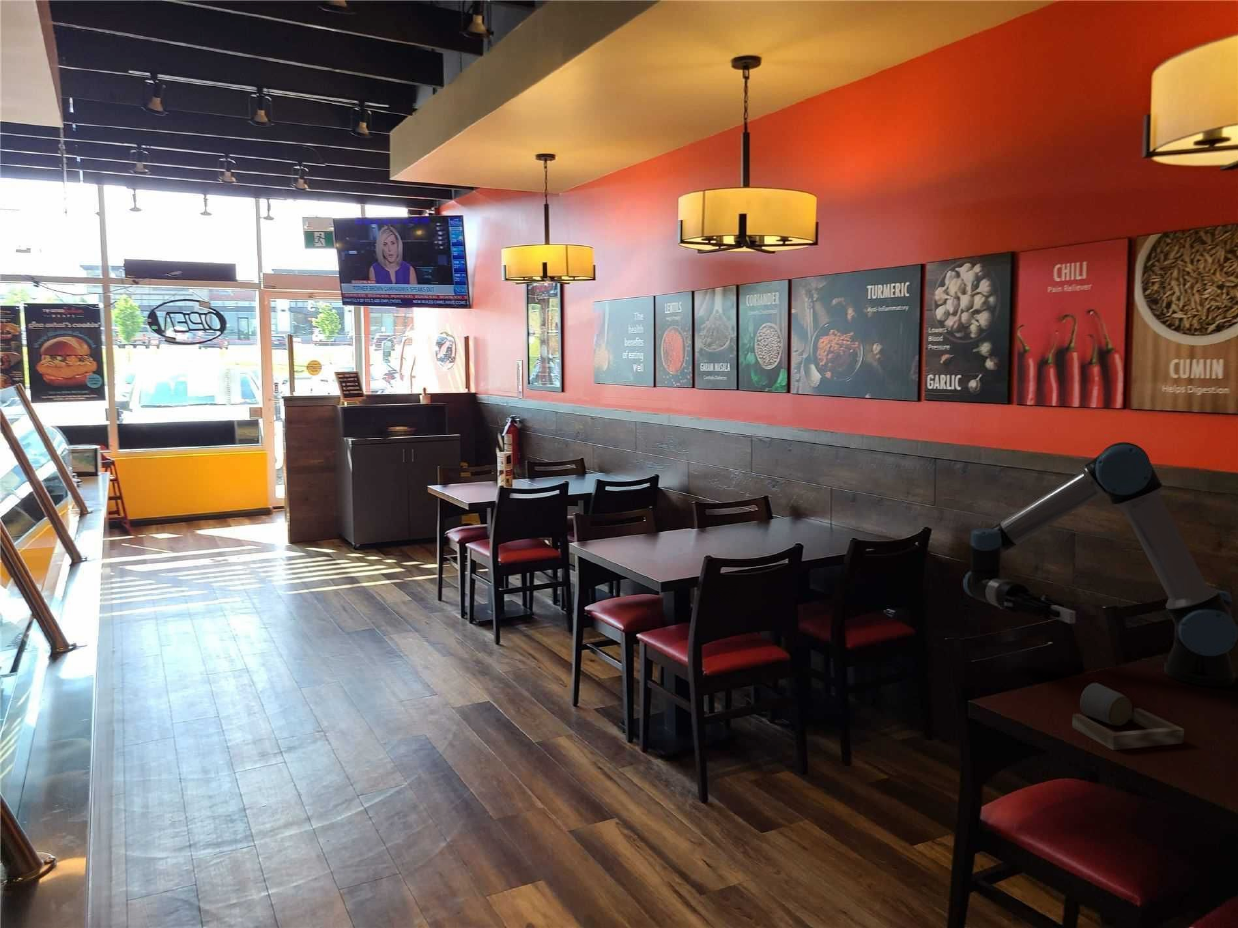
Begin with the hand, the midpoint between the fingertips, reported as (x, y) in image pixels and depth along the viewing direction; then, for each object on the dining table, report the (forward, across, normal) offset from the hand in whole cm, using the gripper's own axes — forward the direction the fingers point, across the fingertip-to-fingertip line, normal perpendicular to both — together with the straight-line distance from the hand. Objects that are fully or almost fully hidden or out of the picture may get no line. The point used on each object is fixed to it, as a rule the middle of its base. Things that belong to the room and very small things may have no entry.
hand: (1072, 617), depth 203 cm
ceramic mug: (+9, -2, -22) cm, 24 cm away
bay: (+18, +1, -21) cm, 28 cm away
